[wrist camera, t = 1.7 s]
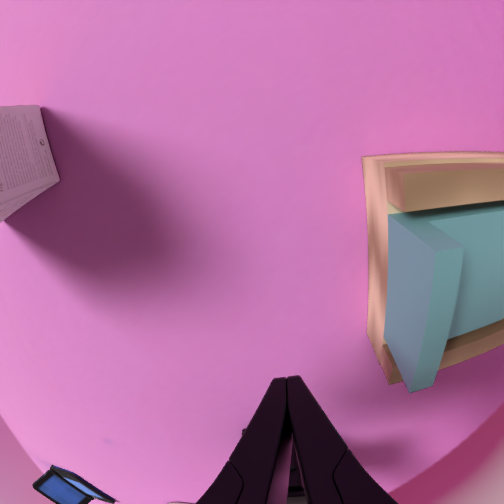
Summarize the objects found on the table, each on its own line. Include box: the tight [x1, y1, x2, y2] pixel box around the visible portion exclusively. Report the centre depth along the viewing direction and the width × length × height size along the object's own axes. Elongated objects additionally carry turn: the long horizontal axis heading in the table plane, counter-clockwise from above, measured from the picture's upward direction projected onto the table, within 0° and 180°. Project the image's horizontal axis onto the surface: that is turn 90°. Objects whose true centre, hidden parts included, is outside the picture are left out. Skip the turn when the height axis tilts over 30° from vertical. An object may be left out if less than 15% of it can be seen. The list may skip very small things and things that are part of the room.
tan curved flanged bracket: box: [362, 151, 504, 385], centre depth 12 cm, size 11×16×5 cm
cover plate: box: [383, 200, 504, 393], centre depth 10 cm, size 7×10×4 cm, turn 100°
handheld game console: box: [33, 465, 115, 504], centre depth 36 cm, size 16×13×9 cm
